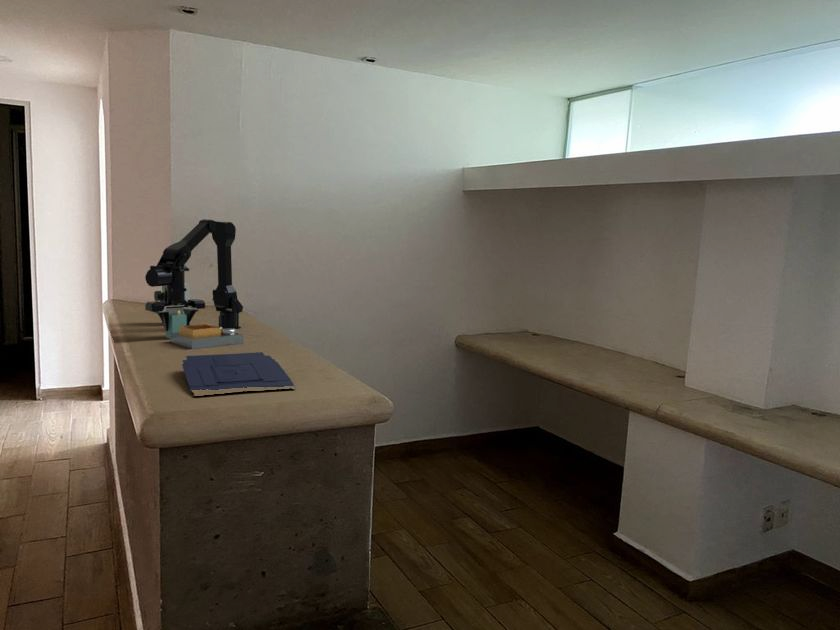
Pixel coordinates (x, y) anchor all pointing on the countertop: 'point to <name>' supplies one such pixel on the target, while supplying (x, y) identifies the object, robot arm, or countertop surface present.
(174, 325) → the spout can
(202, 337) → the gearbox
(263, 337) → the countertop surface
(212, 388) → the dark blue book
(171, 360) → the countertop surface
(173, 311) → the skincare box
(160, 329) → the countertop surface
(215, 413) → the countertop surface
